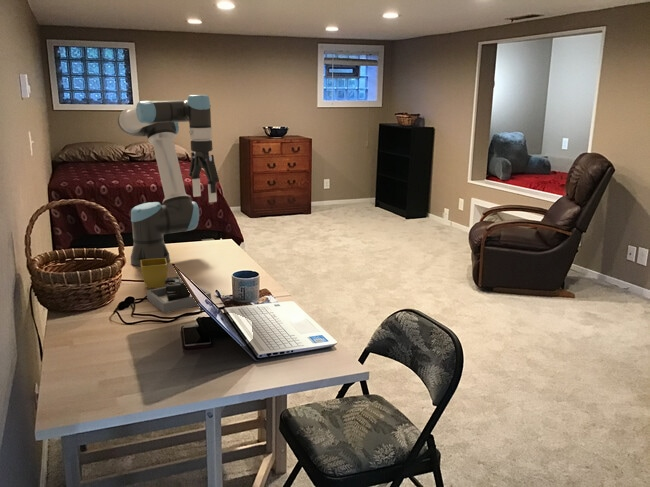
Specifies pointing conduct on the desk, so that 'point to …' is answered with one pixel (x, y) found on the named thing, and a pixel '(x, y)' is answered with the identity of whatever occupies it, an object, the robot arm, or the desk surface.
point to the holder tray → (161, 301)
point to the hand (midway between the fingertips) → (204, 199)
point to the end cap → (176, 289)
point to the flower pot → (154, 272)
